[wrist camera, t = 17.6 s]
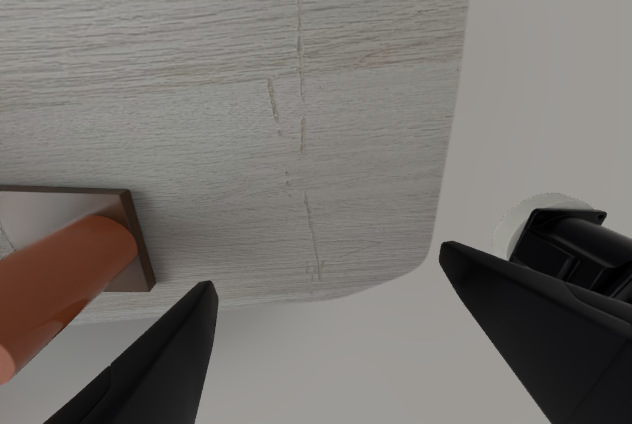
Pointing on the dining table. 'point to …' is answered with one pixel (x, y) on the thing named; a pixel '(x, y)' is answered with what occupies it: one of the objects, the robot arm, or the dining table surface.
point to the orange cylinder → (56, 284)
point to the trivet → (63, 207)
